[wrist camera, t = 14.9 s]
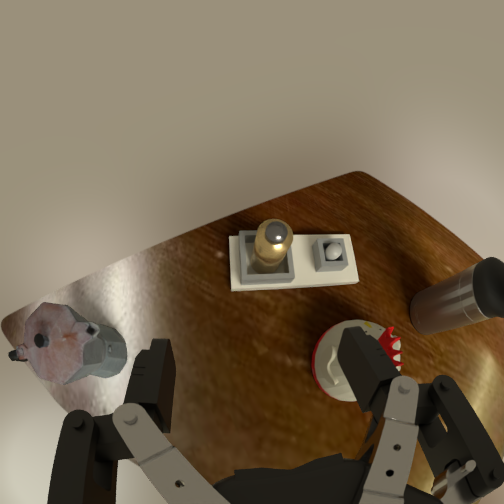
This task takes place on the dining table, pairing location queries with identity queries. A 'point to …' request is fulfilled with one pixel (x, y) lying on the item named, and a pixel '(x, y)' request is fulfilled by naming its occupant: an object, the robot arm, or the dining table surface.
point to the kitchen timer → (327, 362)
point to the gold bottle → (270, 246)
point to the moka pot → (69, 346)
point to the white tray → (295, 263)
